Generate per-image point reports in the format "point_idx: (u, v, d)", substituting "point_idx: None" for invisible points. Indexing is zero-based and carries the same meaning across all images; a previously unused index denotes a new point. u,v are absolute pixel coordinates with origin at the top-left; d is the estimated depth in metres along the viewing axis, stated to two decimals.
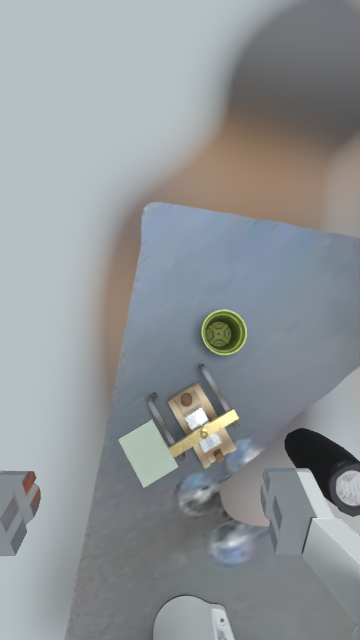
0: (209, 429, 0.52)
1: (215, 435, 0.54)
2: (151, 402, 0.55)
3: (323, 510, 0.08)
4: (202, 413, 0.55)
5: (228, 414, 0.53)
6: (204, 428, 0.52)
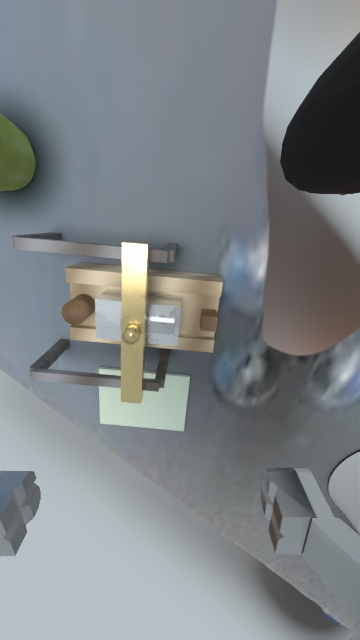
0: (132, 316, 0.23)
1: (161, 308, 0.25)
2: (34, 373, 0.27)
3: (323, 510, 0.08)
4: (106, 304, 0.25)
5: (126, 260, 0.21)
6: (124, 324, 0.23)
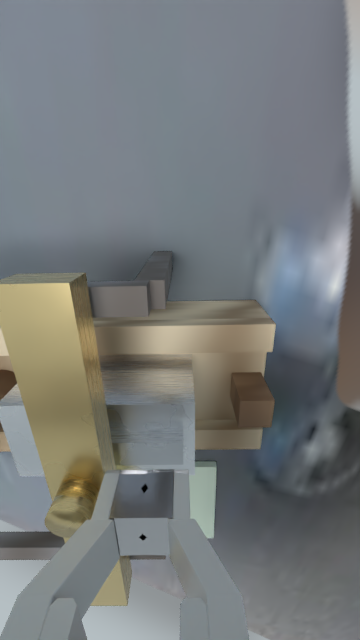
0: (69, 463, 0.09)
1: (150, 410, 0.11)
2: None
3: (182, 511, 0.08)
4: (25, 413, 0.11)
5: (16, 335, 0.07)
6: (55, 480, 0.09)
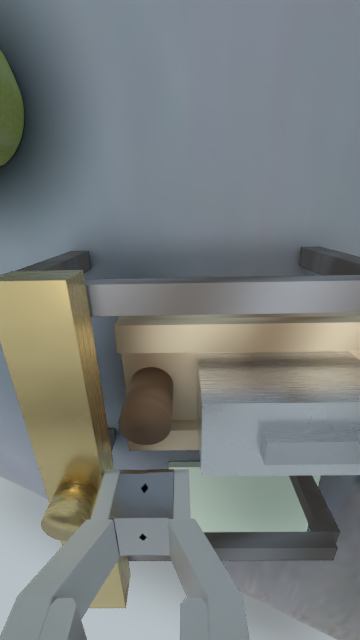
0: (66, 464, 0.09)
1: None
2: None
3: (182, 511, 0.08)
4: (230, 411, 0.10)
5: (11, 333, 0.07)
6: (52, 481, 0.09)
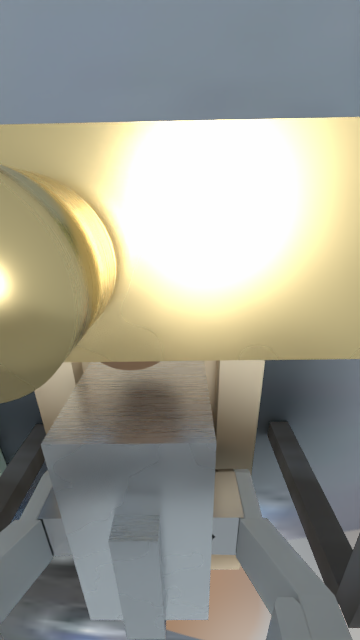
0: (202, 253, 0.02)
1: (199, 591, 0.08)
2: None
3: (252, 510, 0.08)
4: (199, 477, 0.06)
5: None
6: (100, 170, 0.02)
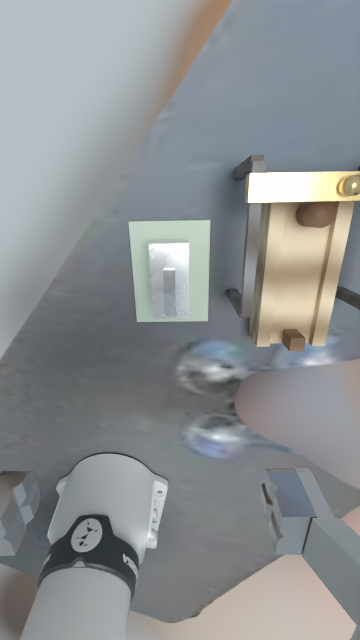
0: None
1: (186, 302, 0.29)
2: (262, 165, 0.21)
3: (323, 510, 0.08)
4: (185, 254, 0.27)
5: None
6: None
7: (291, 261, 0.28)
